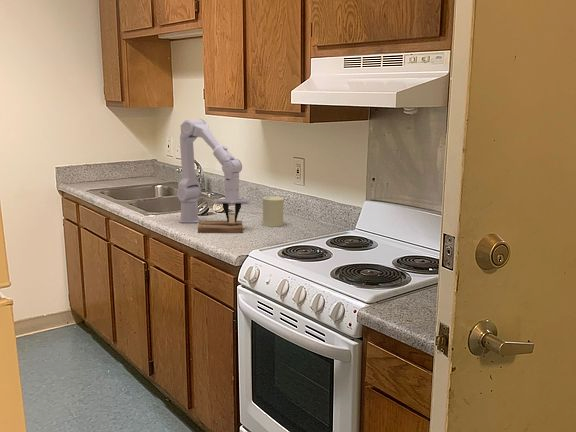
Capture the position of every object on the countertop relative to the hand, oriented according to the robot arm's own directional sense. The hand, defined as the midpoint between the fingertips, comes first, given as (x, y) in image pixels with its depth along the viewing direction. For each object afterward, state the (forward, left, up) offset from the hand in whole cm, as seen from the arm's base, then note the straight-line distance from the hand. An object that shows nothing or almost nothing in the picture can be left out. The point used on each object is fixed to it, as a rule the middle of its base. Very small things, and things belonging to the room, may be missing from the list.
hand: (231, 221), depth 247 cm
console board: (0, -5, -3) cm, 6 cm away
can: (-9, +18, -3) cm, 20 cm away
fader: (0, 0, -1) cm, 1 cm away
